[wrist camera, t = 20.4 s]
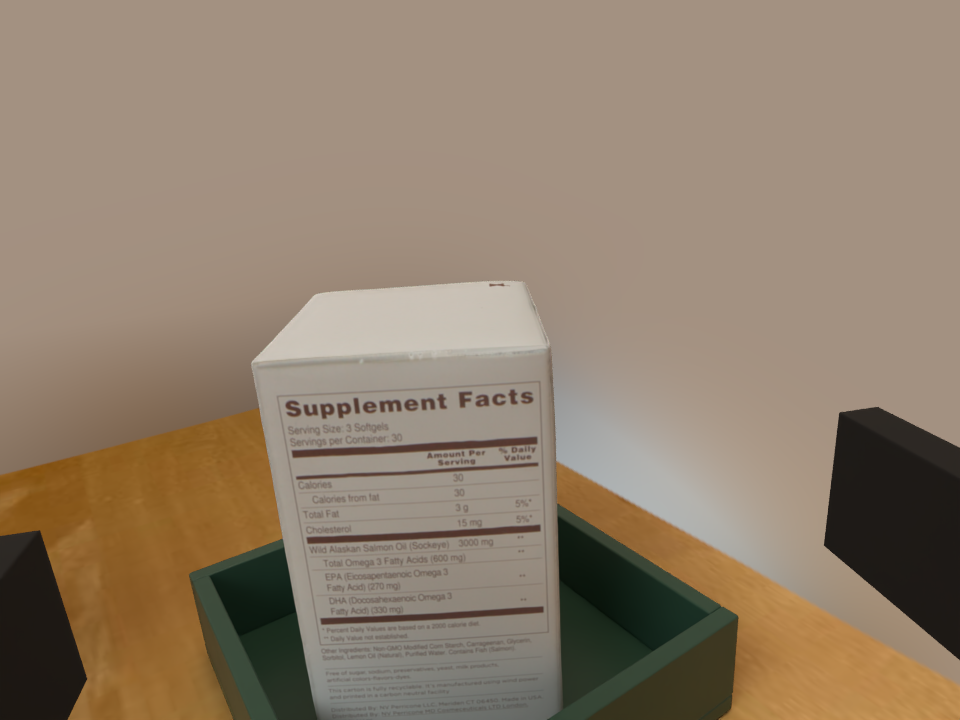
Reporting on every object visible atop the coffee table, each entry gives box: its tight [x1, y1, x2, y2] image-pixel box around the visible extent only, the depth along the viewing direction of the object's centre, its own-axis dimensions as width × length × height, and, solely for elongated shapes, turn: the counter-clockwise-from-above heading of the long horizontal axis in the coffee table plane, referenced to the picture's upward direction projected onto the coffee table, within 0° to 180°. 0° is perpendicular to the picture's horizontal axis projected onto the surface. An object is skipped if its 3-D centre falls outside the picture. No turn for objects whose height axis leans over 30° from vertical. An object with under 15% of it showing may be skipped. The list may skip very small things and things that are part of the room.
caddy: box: [189, 504, 738, 720], centre depth 23 cm, size 13×13×4 cm
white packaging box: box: [251, 281, 563, 720], centre depth 21 cm, size 7×7×13 cm
